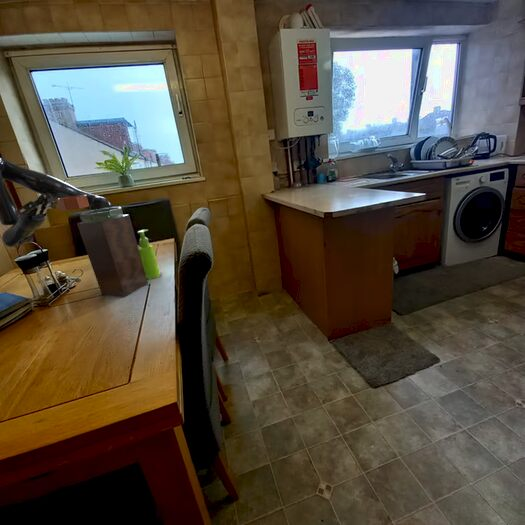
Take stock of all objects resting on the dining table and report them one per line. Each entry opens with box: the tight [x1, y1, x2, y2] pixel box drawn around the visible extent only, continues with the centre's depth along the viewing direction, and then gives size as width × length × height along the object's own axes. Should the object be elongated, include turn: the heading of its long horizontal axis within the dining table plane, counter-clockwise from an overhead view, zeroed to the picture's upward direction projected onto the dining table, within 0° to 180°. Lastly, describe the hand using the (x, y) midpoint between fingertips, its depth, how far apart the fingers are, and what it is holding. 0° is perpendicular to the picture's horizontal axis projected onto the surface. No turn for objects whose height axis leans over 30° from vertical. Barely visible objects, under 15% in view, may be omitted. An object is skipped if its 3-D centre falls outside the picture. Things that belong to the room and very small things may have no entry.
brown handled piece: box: [45, 195, 89, 211], centre depth 104 cm, size 9×21×4 cm, turn 69°
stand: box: [76, 206, 149, 298], centre depth 104 cm, size 13×13×31 cm
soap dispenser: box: [137, 228, 161, 280], centre depth 116 cm, size 6×7×20 cm
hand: (47, 195), depth 106 cm, fingers closed on brown handled piece, 2 cm apart
